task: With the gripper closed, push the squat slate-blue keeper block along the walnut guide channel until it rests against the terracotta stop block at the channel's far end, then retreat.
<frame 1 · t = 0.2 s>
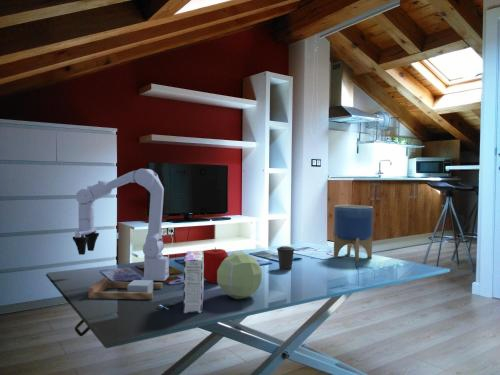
hand: (86, 252, 161), 10 cm above the table, fingers open, 7 cm apart
keeper: (140, 293, 140), on the table
coffee cup: (285, 269, 178), on the table
planter: (352, 257, 205), on the table
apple: (214, 282, 157), on the table
candy box: (193, 306, 128), on the table
track: (129, 292, 140), on the table
decorative sphere: (239, 297, 137), on the table
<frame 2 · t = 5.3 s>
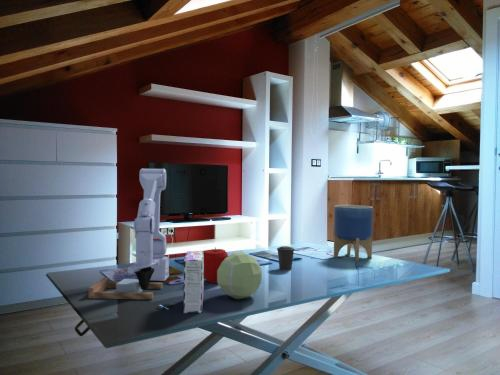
hand: (144, 289, 140), 1 cm above the table, fingers closed
keeper: (129, 292, 141), on the table, touching gripper
everything else where it was.
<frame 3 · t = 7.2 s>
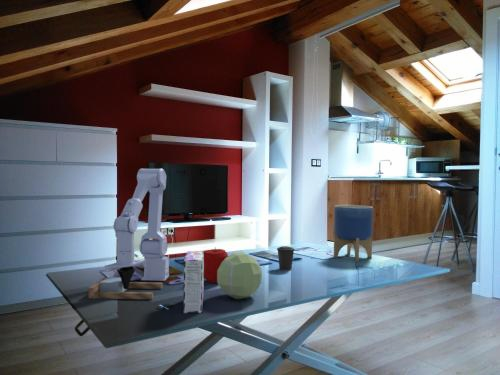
hand: (125, 288, 140), 2 cm above the table, fingers closed, pressing on keeper
keeper: (114, 291, 142), on the table, touching gripper, track
everything else where it was.
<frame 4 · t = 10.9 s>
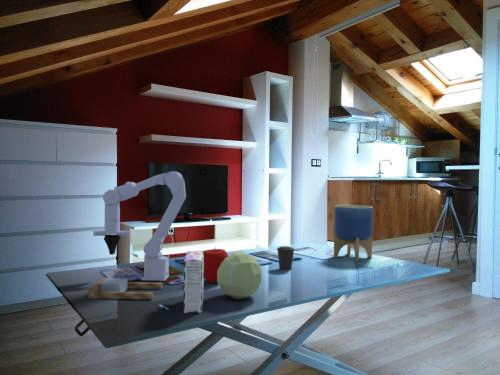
hand: (112, 254, 159), 10 cm above the table, fingers closed
keeper: (114, 292, 142), on the table
everything else where it was.
at the end: keeper inside the target area on the track (1.5 cm from its centre), point 0.0 cm above the track's base; keeper tilted 0° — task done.
